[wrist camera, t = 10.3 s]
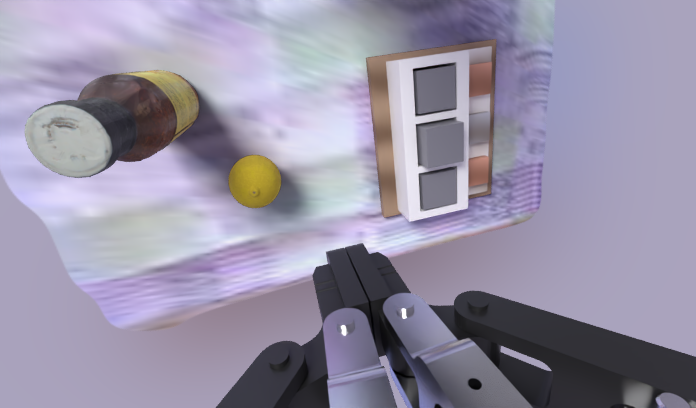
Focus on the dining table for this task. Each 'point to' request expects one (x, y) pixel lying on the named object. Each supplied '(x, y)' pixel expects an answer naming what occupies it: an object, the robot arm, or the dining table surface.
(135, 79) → the sauce bottle
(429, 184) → the button
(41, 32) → the dining table surface
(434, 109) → the button
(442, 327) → the robot arm
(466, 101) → the switch housing
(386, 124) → the switch base
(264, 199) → the lemon
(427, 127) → the button
